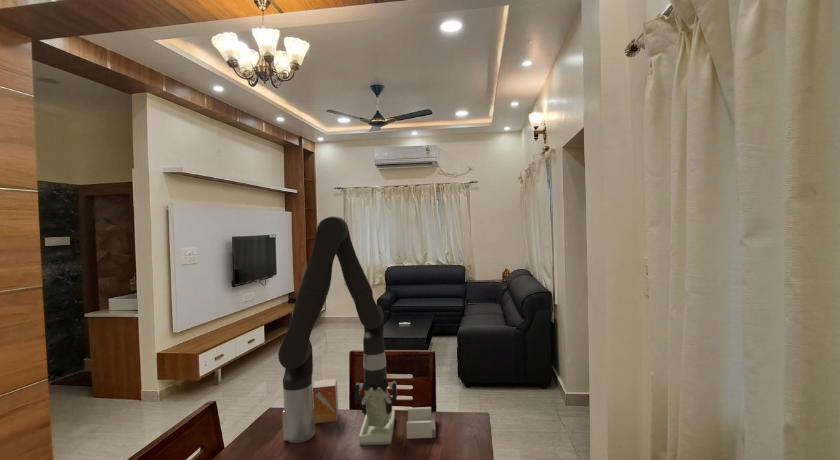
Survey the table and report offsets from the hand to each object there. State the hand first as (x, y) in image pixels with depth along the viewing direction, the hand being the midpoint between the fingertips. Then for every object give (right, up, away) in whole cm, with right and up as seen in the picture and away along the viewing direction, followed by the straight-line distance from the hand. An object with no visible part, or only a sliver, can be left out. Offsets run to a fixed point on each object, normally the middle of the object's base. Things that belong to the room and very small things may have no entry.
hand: (377, 413), depth 131 cm
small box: (-20, -7, +10) cm, 23 cm away
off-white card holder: (+14, -5, 0) cm, 15 cm away
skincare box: (0, -4, 0) cm, 4 cm away
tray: (0, -6, 0) cm, 6 cm away
